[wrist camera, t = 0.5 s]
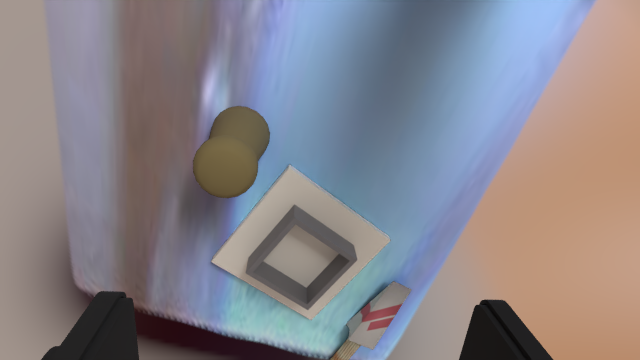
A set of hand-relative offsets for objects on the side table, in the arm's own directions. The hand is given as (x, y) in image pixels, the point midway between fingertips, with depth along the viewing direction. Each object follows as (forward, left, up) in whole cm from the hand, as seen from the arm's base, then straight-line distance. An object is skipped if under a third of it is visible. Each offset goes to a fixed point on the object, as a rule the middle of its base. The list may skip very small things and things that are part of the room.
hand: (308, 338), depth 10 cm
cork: (+6, -3, -31) cm, 32 cm away
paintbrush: (+20, +25, -31) cm, 45 cm away
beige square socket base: (+13, +11, -31) cm, 35 cm away
